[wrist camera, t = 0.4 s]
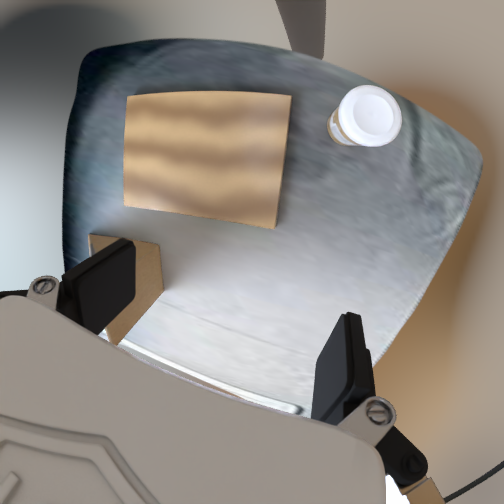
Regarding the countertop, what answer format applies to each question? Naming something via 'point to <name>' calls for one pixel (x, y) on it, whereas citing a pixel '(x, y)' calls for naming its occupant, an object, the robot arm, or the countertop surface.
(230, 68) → the countertop surface
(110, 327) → the sandwich container
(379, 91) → the sprinkles bottle
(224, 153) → the chopping board
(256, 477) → the robot arm
